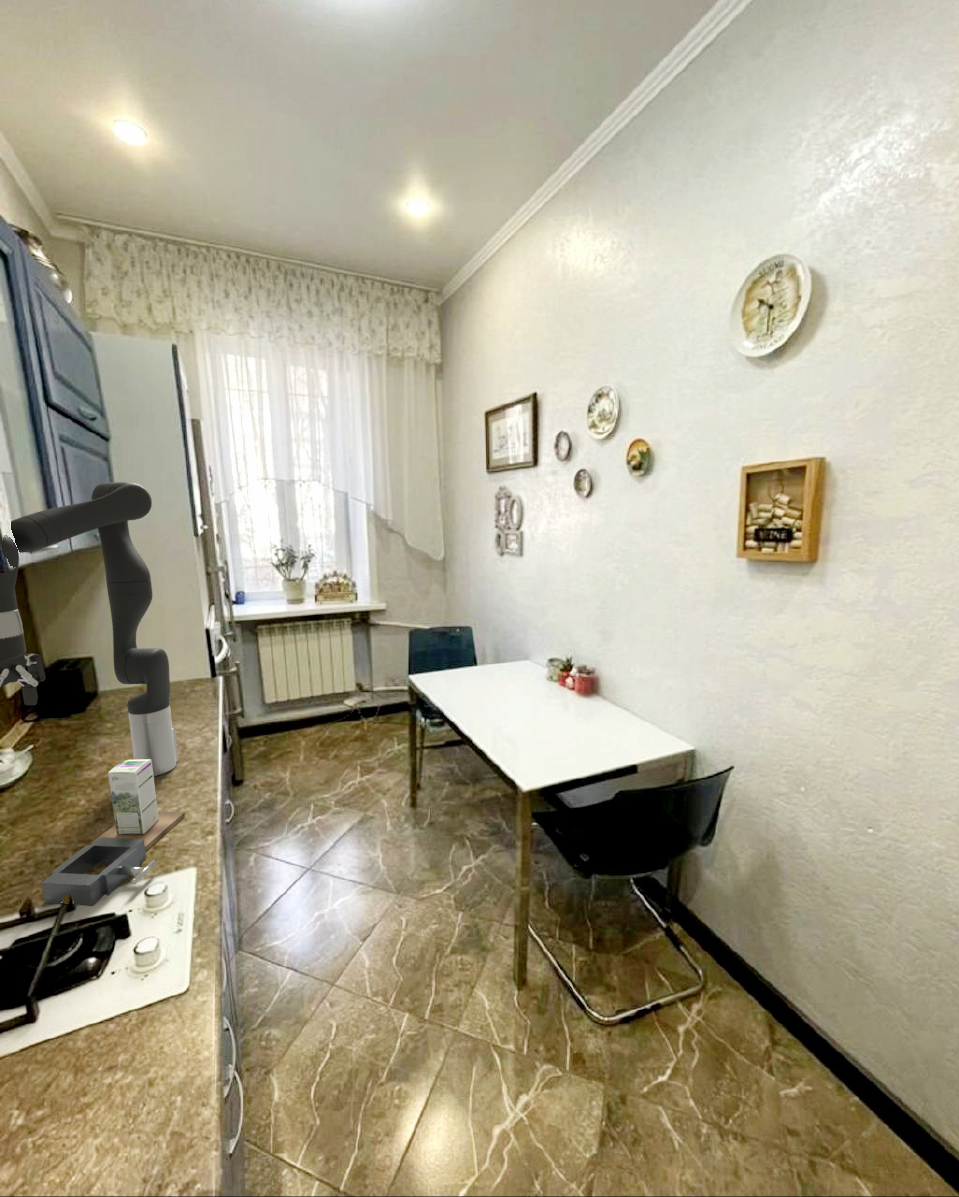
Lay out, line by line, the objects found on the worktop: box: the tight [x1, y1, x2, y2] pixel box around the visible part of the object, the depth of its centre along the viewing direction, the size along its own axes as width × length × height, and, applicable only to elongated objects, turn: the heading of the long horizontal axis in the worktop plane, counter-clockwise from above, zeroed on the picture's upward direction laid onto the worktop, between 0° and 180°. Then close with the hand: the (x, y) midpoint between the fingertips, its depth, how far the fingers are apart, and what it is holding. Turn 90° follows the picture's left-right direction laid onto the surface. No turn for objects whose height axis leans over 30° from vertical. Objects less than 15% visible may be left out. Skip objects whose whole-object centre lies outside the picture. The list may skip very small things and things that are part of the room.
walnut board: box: [89, 810, 186, 852], centre depth 107 cm, size 12×12×1 cm
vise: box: [41, 837, 157, 907], centre depth 92 cm, size 12×15×4 cm
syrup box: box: [107, 759, 159, 835], centre depth 105 cm, size 6×6×14 cm
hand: (10, 712), depth 100 cm, fingers open, 8 cm apart
